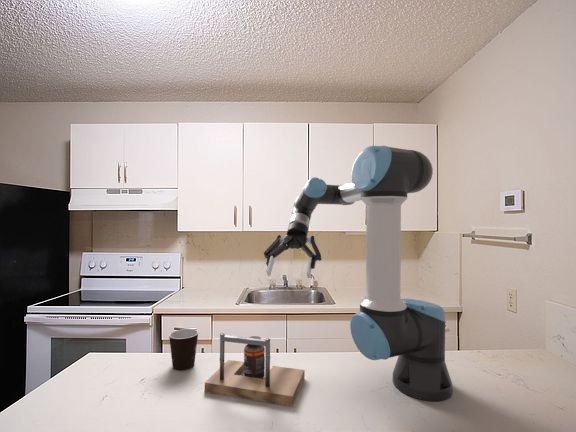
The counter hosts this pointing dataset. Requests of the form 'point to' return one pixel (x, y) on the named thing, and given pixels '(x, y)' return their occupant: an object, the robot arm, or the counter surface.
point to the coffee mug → (183, 348)
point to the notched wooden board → (257, 384)
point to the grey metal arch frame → (245, 340)
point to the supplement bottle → (254, 360)
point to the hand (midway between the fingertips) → (287, 274)
